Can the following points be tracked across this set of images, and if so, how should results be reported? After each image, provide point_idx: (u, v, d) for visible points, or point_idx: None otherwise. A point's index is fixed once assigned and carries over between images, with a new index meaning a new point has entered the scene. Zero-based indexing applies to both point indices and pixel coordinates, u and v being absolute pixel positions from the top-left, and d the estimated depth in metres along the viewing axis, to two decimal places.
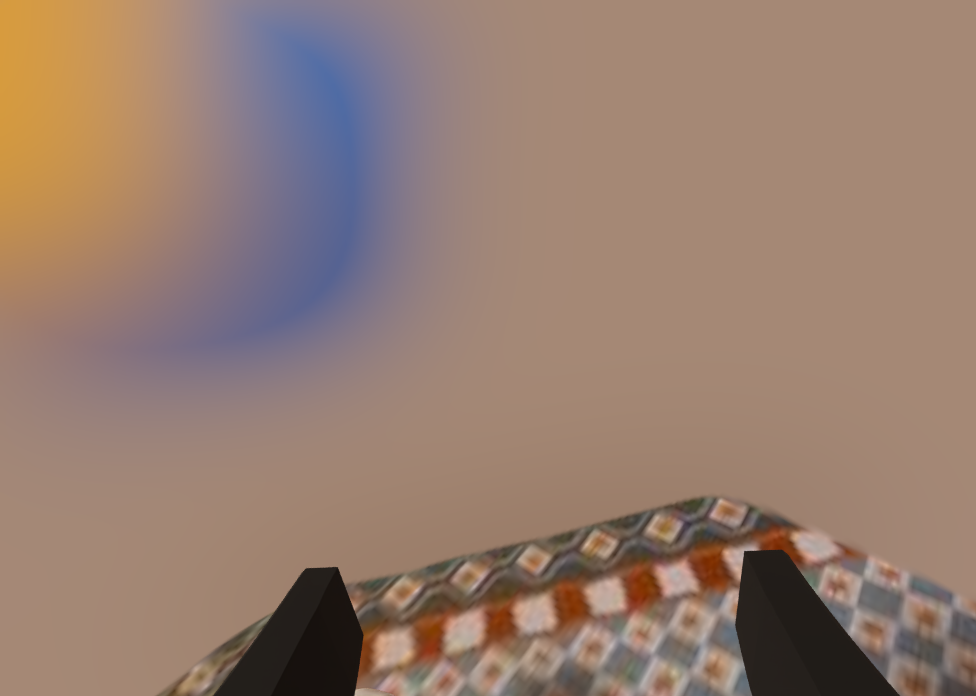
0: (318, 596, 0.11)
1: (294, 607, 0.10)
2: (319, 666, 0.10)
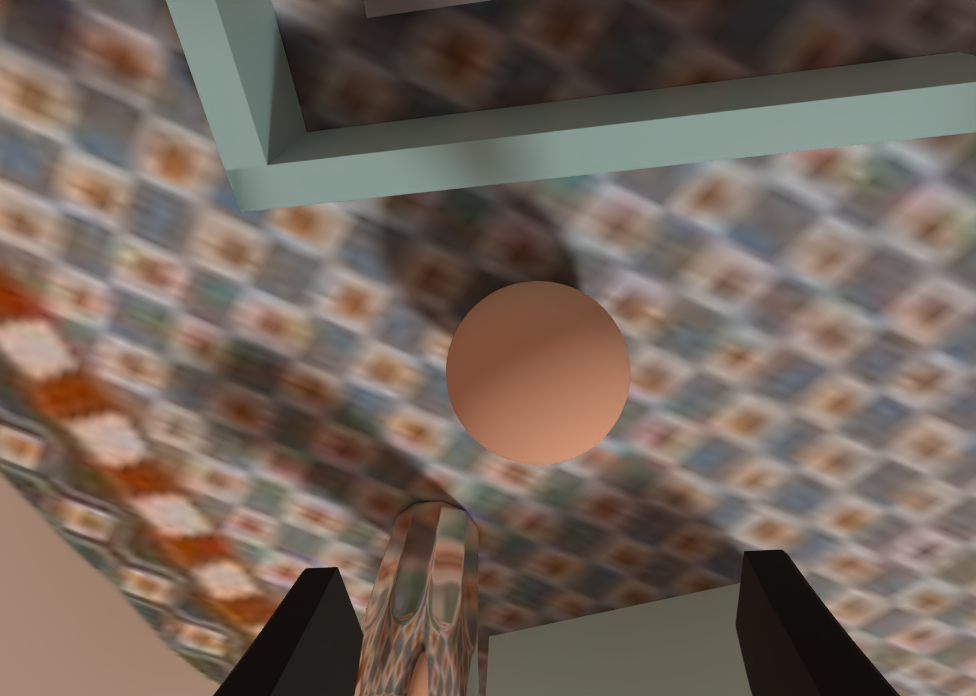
0: (318, 596, 0.11)
1: (294, 607, 0.10)
2: (319, 666, 0.10)
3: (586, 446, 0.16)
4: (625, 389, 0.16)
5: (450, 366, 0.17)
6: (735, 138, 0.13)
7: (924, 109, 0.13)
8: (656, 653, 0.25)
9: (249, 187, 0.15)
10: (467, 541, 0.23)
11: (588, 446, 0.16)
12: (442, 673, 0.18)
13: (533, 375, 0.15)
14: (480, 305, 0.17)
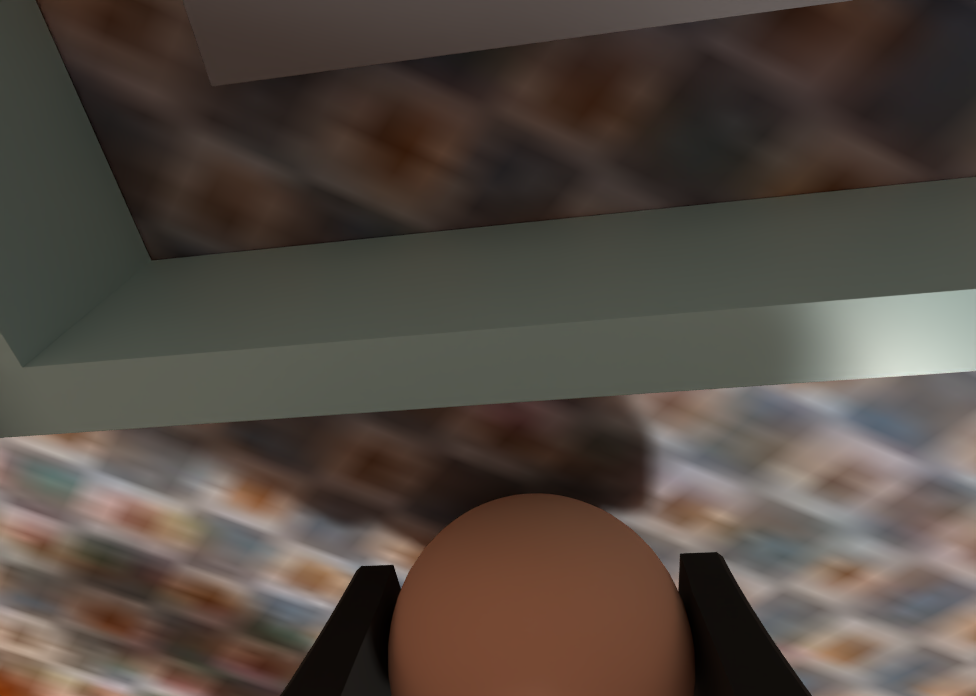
0: (378, 594, 0.10)
1: (354, 605, 0.10)
2: (380, 665, 0.10)
3: None
4: None
5: (391, 661, 0.10)
6: (944, 340, 0.07)
7: None
8: None
9: None
10: None
11: None
12: None
13: None
14: (442, 555, 0.10)
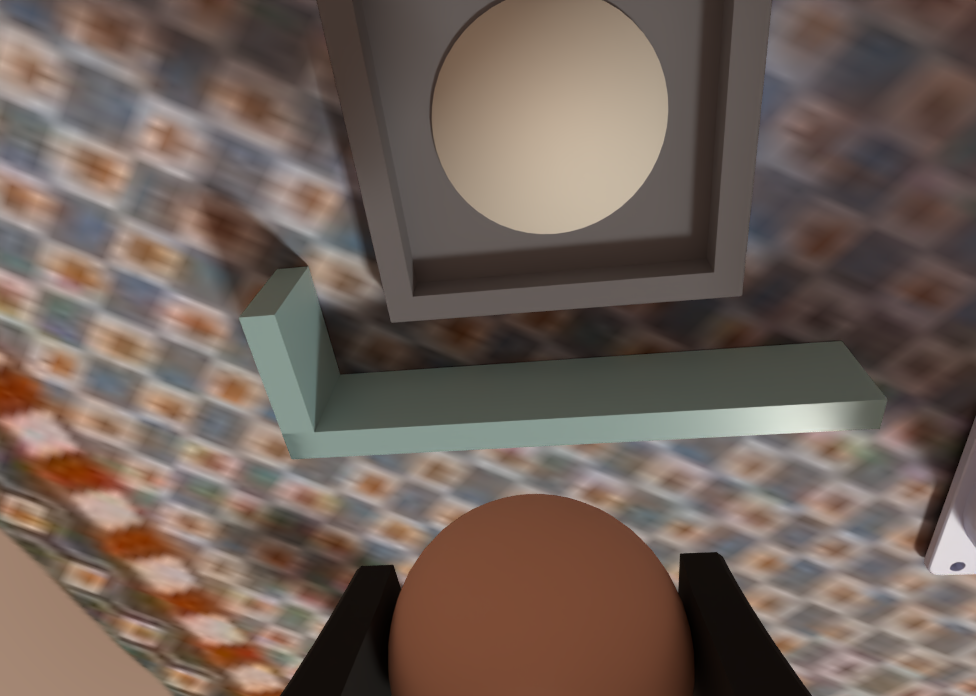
0: (378, 594, 0.10)
1: (355, 605, 0.10)
2: (380, 665, 0.10)
3: None
4: None
5: (391, 661, 0.10)
6: (665, 428, 0.18)
7: (802, 416, 0.18)
8: None
9: (300, 444, 0.19)
10: None
11: None
12: None
13: None
14: (443, 555, 0.10)
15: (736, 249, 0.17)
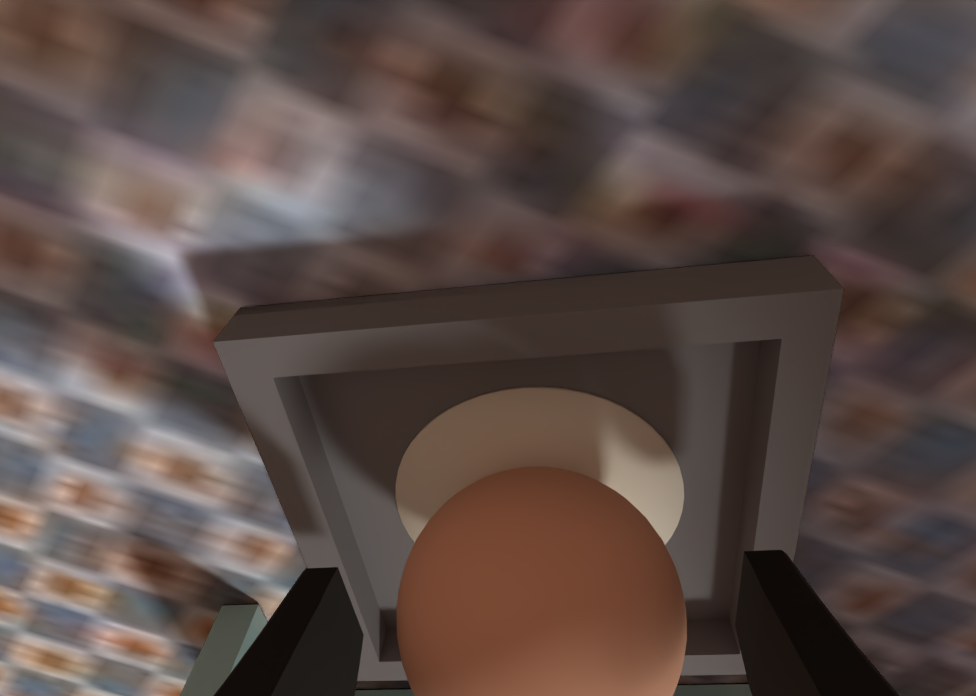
0: (318, 596, 0.11)
1: (294, 607, 0.10)
2: (319, 666, 0.10)
3: None
4: (682, 664, 0.10)
5: (400, 621, 0.10)
6: None
7: None
8: None
9: None
10: None
11: None
12: None
13: (533, 681, 0.09)
14: (449, 521, 0.10)
15: None
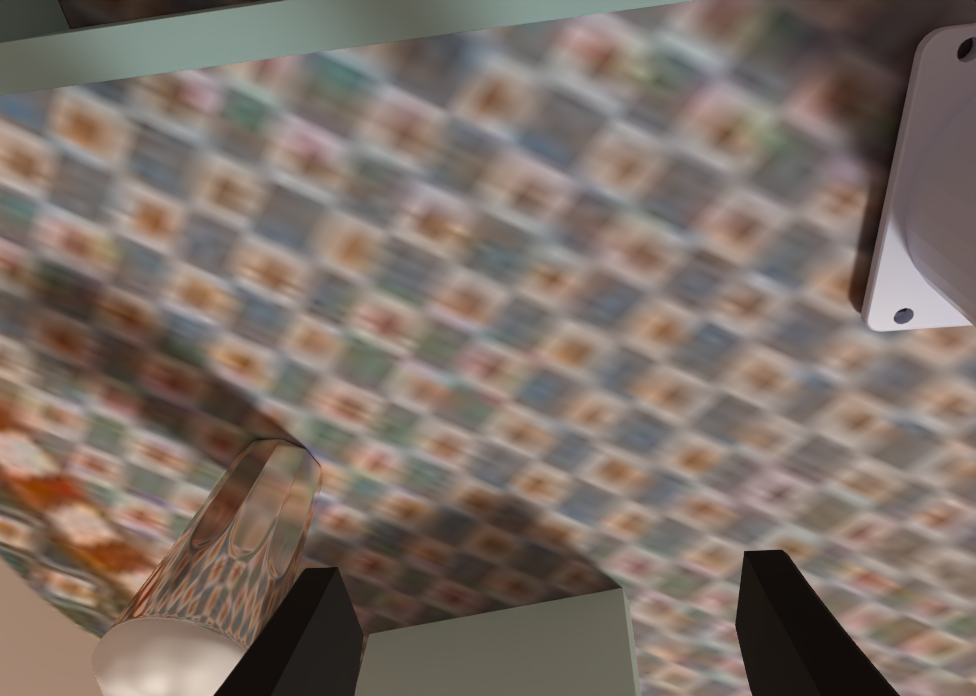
0: (318, 596, 0.11)
1: (294, 607, 0.10)
2: (319, 666, 0.10)
3: None
4: None
5: None
6: (453, 9, 0.13)
7: None
8: (512, 656, 0.26)
9: None
10: (300, 477, 0.22)
11: None
12: (226, 596, 0.18)
13: None
14: None
15: None
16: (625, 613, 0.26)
